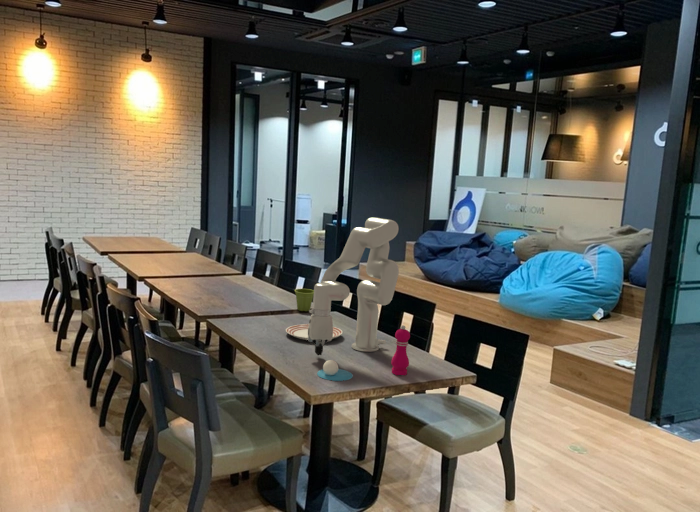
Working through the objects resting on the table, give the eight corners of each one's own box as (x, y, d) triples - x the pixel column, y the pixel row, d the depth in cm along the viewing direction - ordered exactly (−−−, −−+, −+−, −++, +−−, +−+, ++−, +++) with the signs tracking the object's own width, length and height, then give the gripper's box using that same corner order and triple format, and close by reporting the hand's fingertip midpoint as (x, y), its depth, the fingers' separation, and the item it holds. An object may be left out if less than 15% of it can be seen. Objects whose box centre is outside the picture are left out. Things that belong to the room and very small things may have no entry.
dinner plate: (274, 337, 286) (274, 330, 286) (304, 326, 310) (305, 319, 310) (324, 348, 274) (324, 341, 273) (352, 336, 298) (352, 329, 297)
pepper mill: (406, 370, 249) (411, 323, 247) (409, 376, 242) (413, 328, 240) (389, 369, 249) (393, 322, 246) (391, 375, 242) (395, 327, 239)
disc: (345, 368, 247) (345, 367, 247) (357, 379, 234) (357, 379, 234) (312, 369, 242) (312, 369, 242) (323, 381, 229) (323, 381, 229)
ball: (337, 356, 239) (340, 365, 234) (336, 368, 241) (339, 377, 236) (322, 357, 237) (325, 366, 232) (321, 369, 240) (324, 379, 235)
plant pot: (290, 310, 340) (291, 291, 339) (297, 306, 352) (299, 287, 350) (309, 313, 337) (311, 293, 336) (317, 309, 348) (318, 290, 347)
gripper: (307, 314, 250) (304, 357, 252) (341, 314, 255) (337, 356, 257) (302, 310, 257) (299, 352, 259) (335, 310, 262) (332, 351, 264)
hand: (318, 354), depth 258 cm, fingers closed
